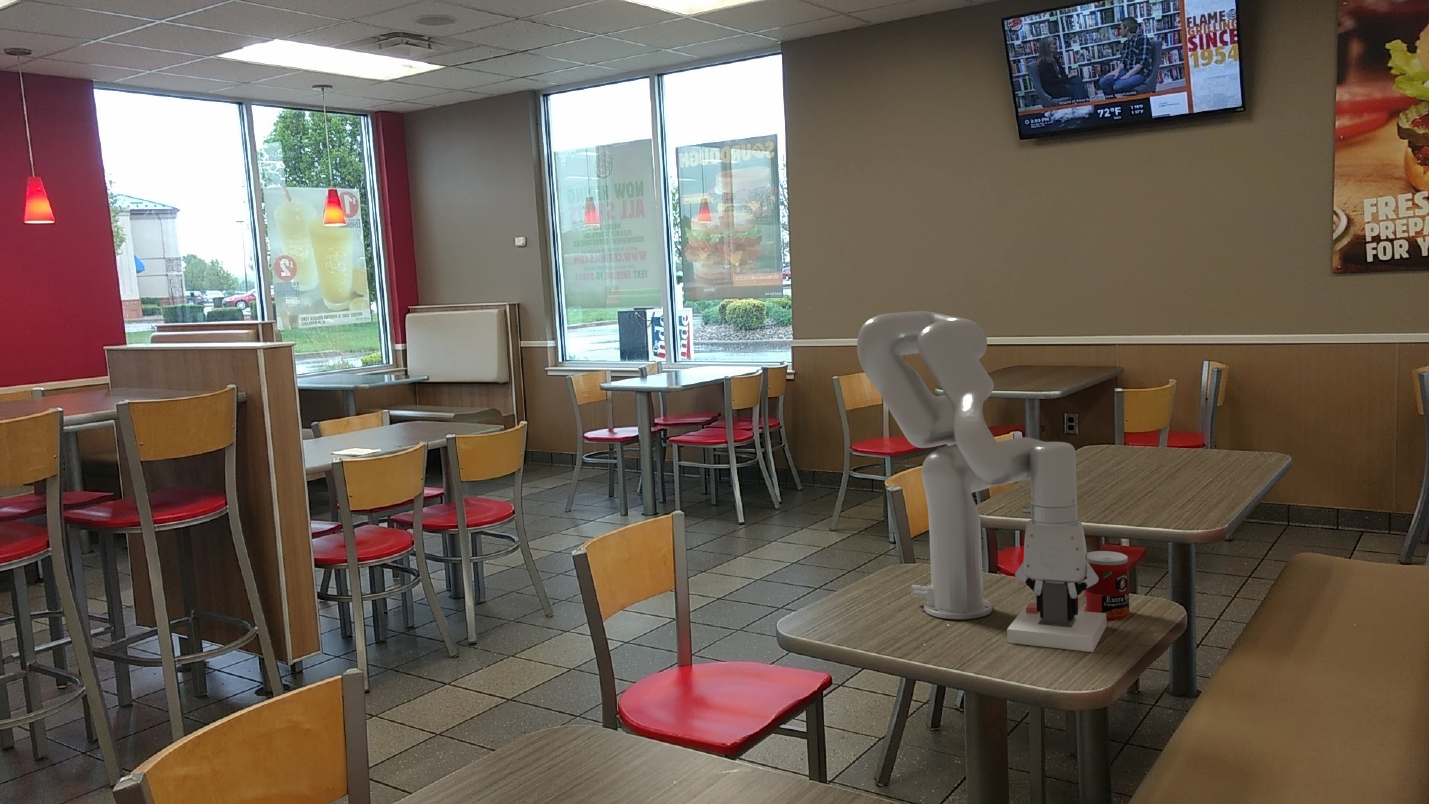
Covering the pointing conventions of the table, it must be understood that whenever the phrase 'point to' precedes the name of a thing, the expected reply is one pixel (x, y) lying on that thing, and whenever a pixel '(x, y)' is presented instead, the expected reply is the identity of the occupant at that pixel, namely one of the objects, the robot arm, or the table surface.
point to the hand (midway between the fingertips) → (1057, 616)
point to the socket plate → (1057, 630)
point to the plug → (1055, 602)
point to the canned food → (1108, 585)
